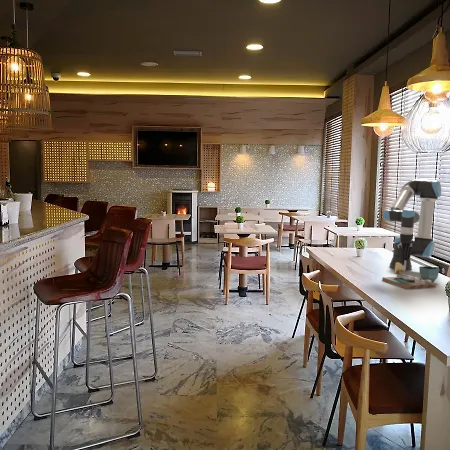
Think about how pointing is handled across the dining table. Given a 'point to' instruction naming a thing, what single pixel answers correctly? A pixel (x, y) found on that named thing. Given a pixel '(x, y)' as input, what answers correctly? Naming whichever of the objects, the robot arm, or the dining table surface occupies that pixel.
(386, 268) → the dining table surface
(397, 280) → the base plate
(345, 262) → the dining table surface
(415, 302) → the dining table surface
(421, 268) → the flower pot
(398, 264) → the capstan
